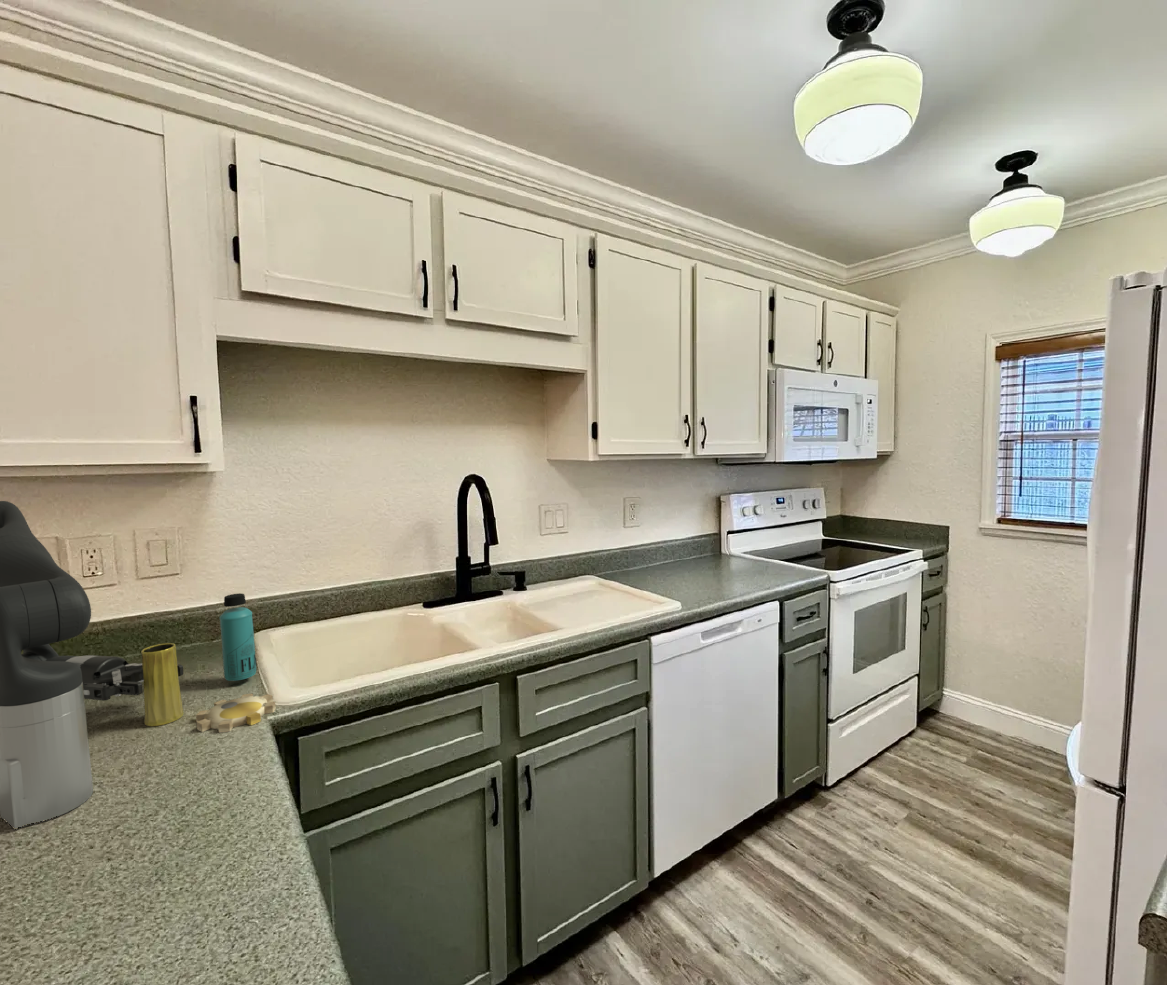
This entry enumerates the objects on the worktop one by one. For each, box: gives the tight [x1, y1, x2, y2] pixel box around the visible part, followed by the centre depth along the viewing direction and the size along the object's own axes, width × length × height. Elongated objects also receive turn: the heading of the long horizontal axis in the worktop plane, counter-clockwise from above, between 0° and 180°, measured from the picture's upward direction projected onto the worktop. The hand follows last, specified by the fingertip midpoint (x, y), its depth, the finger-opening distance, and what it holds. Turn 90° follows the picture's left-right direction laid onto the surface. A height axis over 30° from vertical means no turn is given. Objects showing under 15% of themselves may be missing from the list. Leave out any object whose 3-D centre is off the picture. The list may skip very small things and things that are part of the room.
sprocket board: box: [195, 693, 277, 734], centre depth 107 cm, size 13×13×2 cm
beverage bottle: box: [219, 593, 258, 682], centre depth 123 cm, size 6×7×20 cm
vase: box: [140, 642, 185, 727], centre depth 106 cm, size 6×6×14 cm
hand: (162, 679), depth 106 cm, fingers open, 8 cm apart
